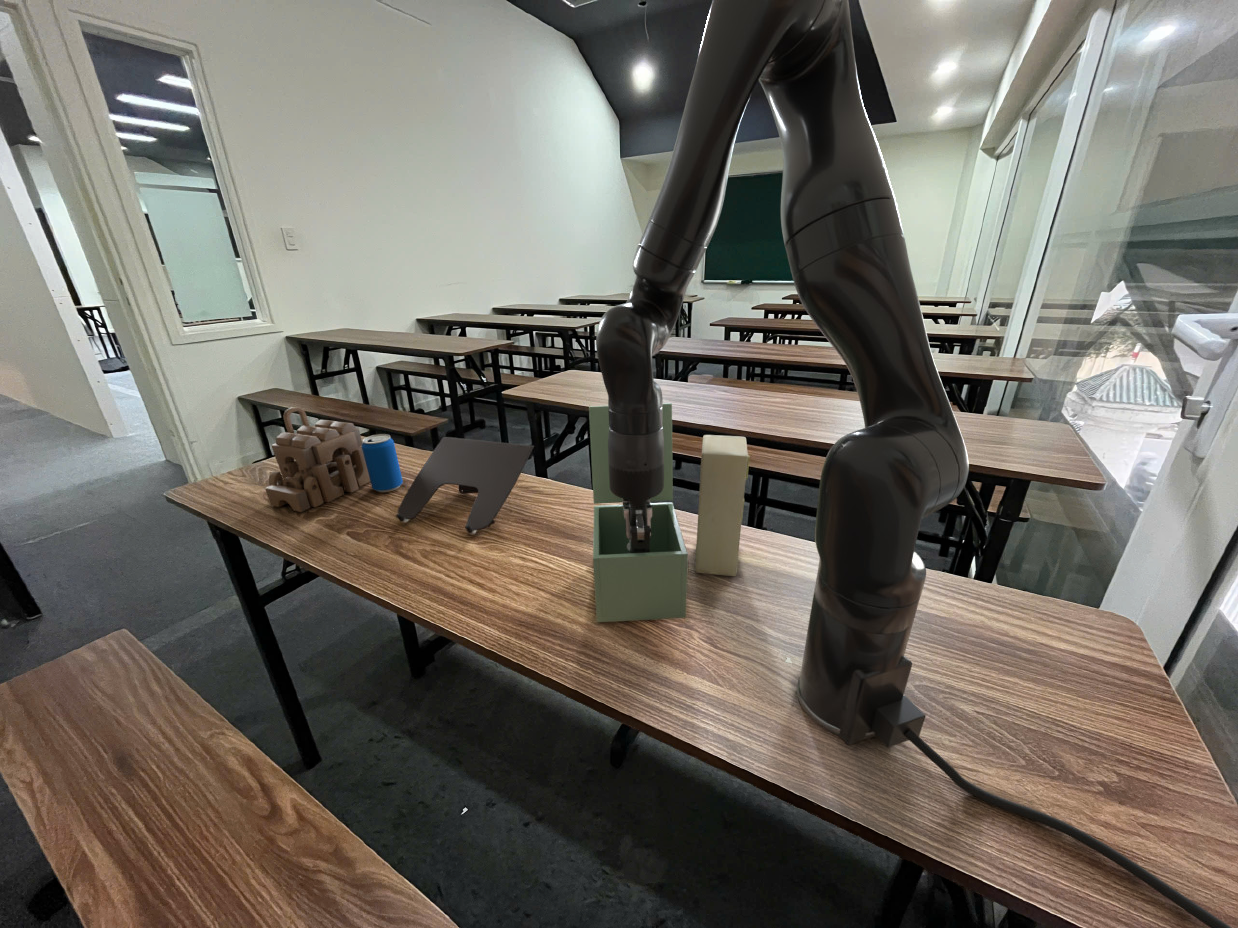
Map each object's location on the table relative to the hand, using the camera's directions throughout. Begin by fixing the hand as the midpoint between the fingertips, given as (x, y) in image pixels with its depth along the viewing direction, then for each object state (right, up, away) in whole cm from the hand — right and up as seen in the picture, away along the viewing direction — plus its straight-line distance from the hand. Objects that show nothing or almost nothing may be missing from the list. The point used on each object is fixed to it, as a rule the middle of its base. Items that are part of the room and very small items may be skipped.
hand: (637, 563), depth 71 cm
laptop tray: (-35, +6, +29) cm, 46 cm away
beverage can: (-56, +9, +39) cm, 68 cm away
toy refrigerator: (+14, -2, +9) cm, 16 cm away
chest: (0, -4, +3) cm, 5 cm away
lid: (-1, +16, +3) cm, 17 cm away
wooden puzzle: (-70, +9, +40) cm, 81 cm away
